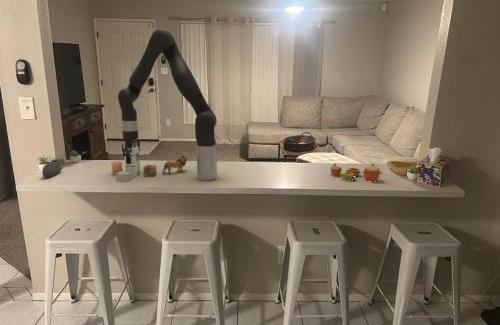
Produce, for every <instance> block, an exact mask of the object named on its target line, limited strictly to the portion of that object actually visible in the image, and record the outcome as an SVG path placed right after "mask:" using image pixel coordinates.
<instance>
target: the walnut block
mask: <svg viewBox="0 0 500 325" xmlns="http://www.w3.org/2000/svg"><path fill="white" fill-rule="evenodd" d="M142 170H143V177H144V178H154V177H156V175H157V164H145V165H144V166H143V169H142Z"/></svg>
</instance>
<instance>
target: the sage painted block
mask: <svg viewBox="0 0 500 325" xmlns="http://www.w3.org/2000/svg"><path fill="white" fill-rule="evenodd" d="M115 177H116V179H115V180H116V182H122V183H129V182H131V181H133V176H132V172H126V171H124V170H123V171H120V172H118V173H116V175H115Z"/></svg>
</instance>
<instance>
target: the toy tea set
mask: <svg viewBox="0 0 500 325" xmlns="http://www.w3.org/2000/svg"><path fill="white" fill-rule="evenodd" d="M329 169H330V175H331V176H332V175H334V176H333V177H336V176H338V177H341V180H342V181H344V180H345V182H350V181H351V182H354V181H353V180H355V181H356V180H358V177H359V175H361V174H363V176H364V180H366V181H371V182H375V181H377V182H378V178H379V176H382V175H383V172H382V171H381V169H380V168H379V167H378V166H377V165H375V163H373V162H372V163H371V164H370V165H367V166H366V167H364V170H362V173H361V171H360V169H359V168H356V167H349V168H348V169H346V171H343V172H342V170H343V168H342V167H341V166H338V165H337V163H335V162H334V163H333V165H331V166H329ZM353 176H358V177H353ZM352 179H353V180H352ZM366 181H365V182H366Z"/></svg>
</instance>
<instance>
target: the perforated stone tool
mask: <svg viewBox="0 0 500 325" xmlns="http://www.w3.org/2000/svg"><path fill="white" fill-rule="evenodd" d="M62 169H63V165H62V163H61V159H60V158H55V159H54V160H53V159H52V160H51V161H49V162H48V163H46V165H45V166H44V167H43V168H42V172H41V174H42V176H43V177H44V178H45V179H47V178H48V179H49V178H51V177H54V176H57V175H58V174H59V173H60V172H62Z"/></svg>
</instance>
